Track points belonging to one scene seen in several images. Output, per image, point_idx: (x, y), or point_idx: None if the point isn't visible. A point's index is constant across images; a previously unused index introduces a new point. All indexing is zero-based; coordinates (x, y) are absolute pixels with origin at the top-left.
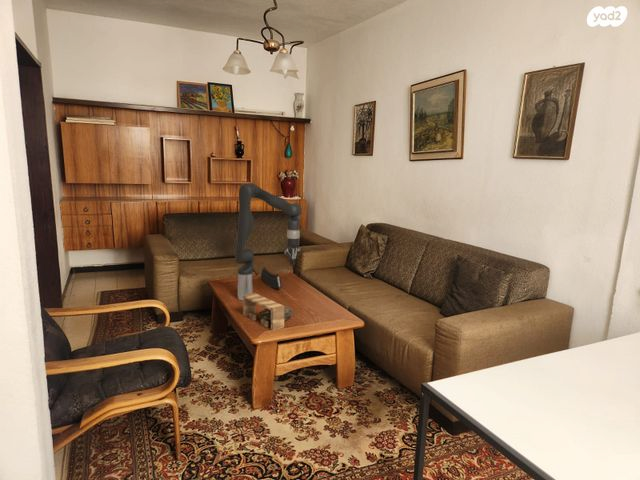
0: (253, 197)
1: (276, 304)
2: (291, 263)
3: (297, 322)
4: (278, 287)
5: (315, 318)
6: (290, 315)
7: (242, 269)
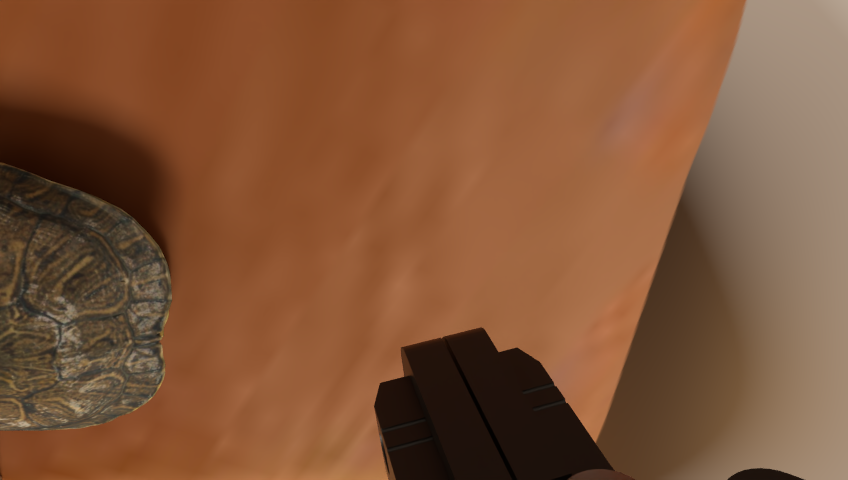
0: None
1: None
2: (386, 468)
3: (164, 429)
4: None
5: (348, 407)
6: (107, 418)
7: None
